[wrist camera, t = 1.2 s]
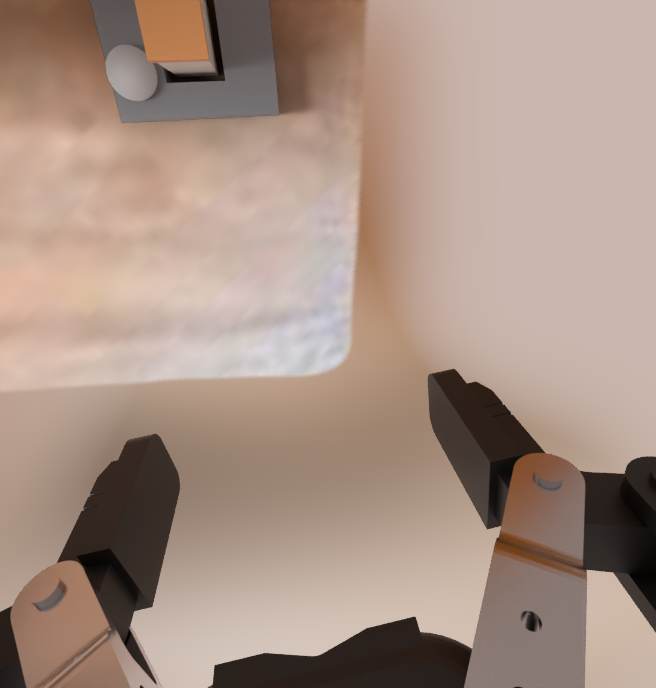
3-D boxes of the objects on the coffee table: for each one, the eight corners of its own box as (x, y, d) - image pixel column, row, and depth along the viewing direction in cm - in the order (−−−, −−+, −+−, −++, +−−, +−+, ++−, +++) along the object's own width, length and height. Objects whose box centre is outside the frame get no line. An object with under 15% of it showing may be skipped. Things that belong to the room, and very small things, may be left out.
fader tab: (177, 78, 27) (147, 60, 19) (158, -24, 24) (113, -96, 16) (220, 77, 27) (208, 59, 19) (205, -24, 25) (184, -95, 17)
